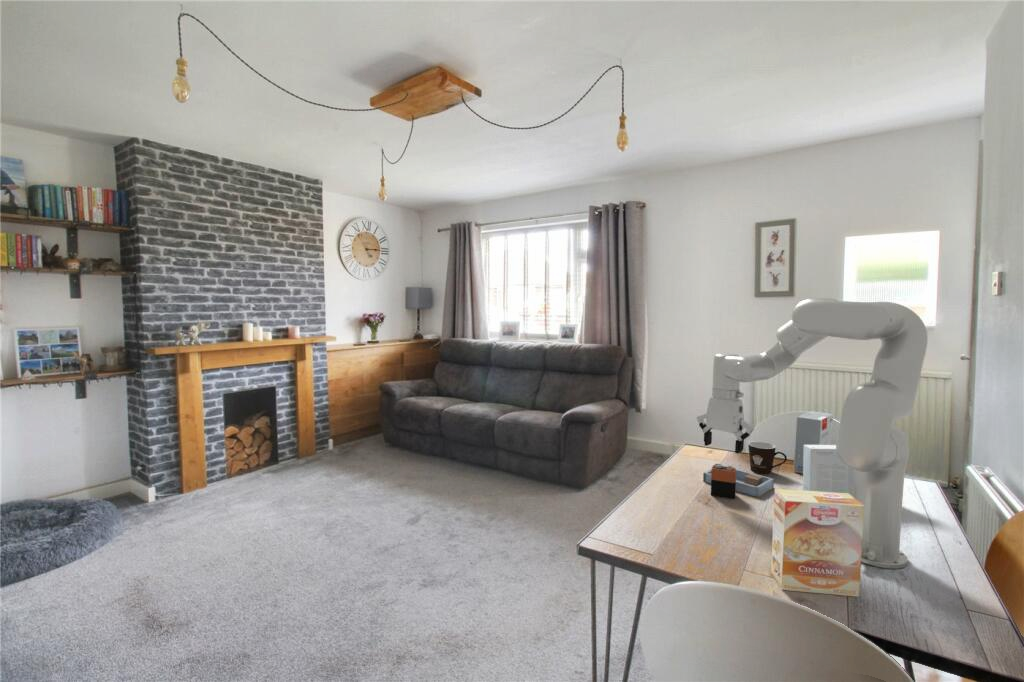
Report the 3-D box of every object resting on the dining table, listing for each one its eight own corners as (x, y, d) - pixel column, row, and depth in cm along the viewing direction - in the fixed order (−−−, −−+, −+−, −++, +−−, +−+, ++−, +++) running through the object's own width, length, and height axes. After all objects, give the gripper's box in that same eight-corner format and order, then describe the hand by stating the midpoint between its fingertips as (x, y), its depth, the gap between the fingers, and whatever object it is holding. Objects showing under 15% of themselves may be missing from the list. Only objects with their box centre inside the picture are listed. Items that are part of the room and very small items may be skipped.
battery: (711, 492, 154) (712, 461, 153) (735, 496, 151) (736, 464, 150) (710, 497, 150) (711, 465, 149) (734, 501, 147) (735, 469, 146)
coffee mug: (741, 470, 174) (742, 442, 173) (761, 467, 176) (762, 440, 176) (767, 481, 163) (768, 452, 162) (787, 478, 165) (789, 449, 165)
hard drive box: (817, 478, 166) (820, 420, 164) (793, 472, 171) (795, 416, 170) (831, 467, 176) (833, 413, 174) (807, 462, 182) (809, 410, 180)
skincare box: (872, 494, 151) (874, 444, 150) (883, 502, 146) (886, 450, 144) (800, 492, 153) (802, 443, 152) (809, 499, 148) (811, 448, 147)
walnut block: (757, 492, 152) (757, 479, 152) (744, 488, 155) (744, 476, 155) (762, 489, 155) (763, 476, 154) (749, 485, 158) (750, 473, 157)
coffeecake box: (781, 590, 102) (785, 500, 100) (769, 572, 109) (773, 487, 107) (861, 598, 99) (866, 505, 97) (843, 578, 106) (848, 491, 104)
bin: (757, 499, 148) (758, 488, 148) (703, 483, 162) (703, 472, 161) (773, 489, 156) (773, 478, 156) (720, 474, 169) (720, 465, 169)
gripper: (760, 396, 144) (757, 453, 145) (704, 388, 157) (702, 439, 159) (748, 400, 139) (745, 458, 141) (692, 391, 152) (690, 444, 154)
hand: (722, 448), depth 150 cm, fingers open, 9 cm apart
